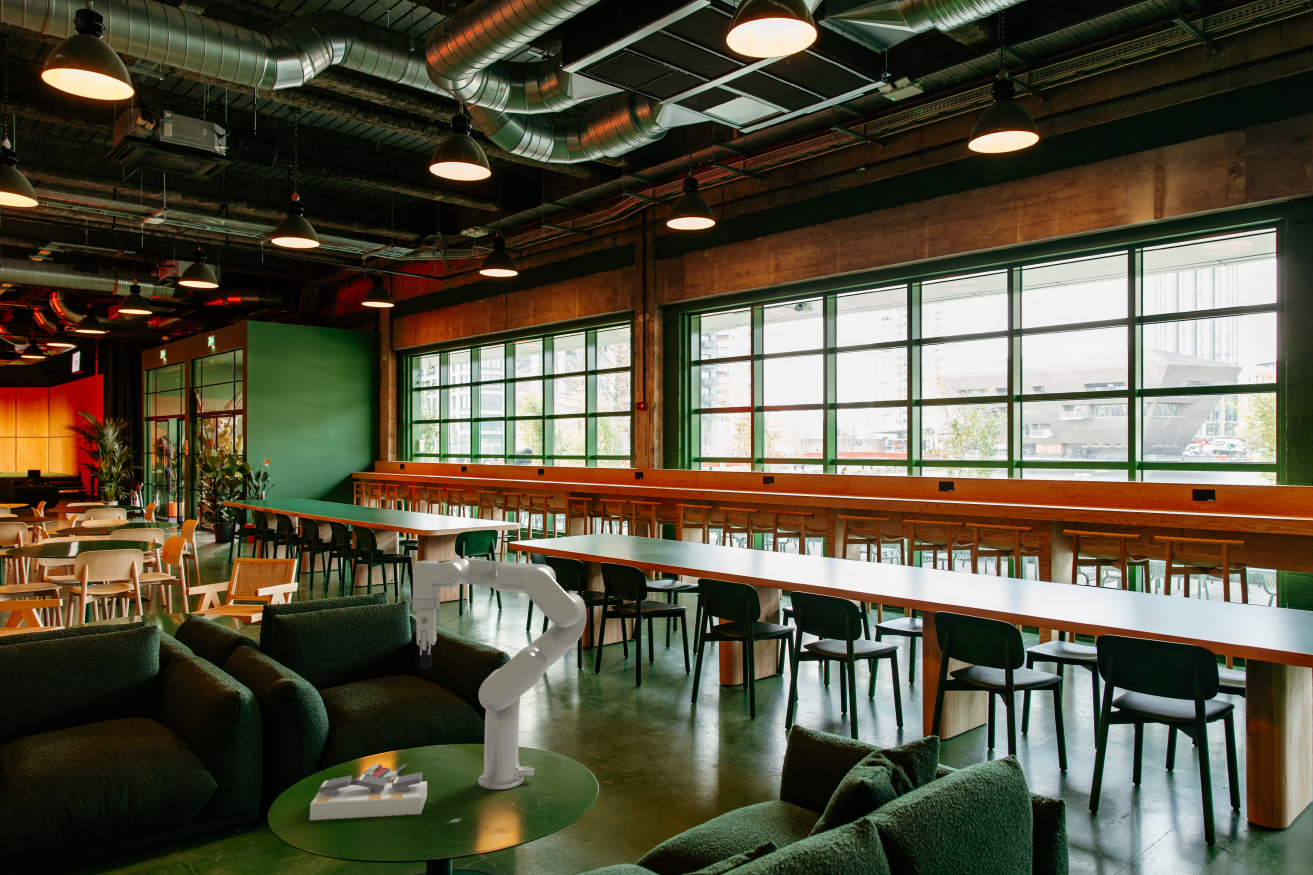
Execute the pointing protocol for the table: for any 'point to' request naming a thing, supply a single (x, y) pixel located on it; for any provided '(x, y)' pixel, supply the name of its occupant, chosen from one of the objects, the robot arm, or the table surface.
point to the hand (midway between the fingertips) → (425, 668)
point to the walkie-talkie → (380, 772)
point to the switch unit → (368, 802)
